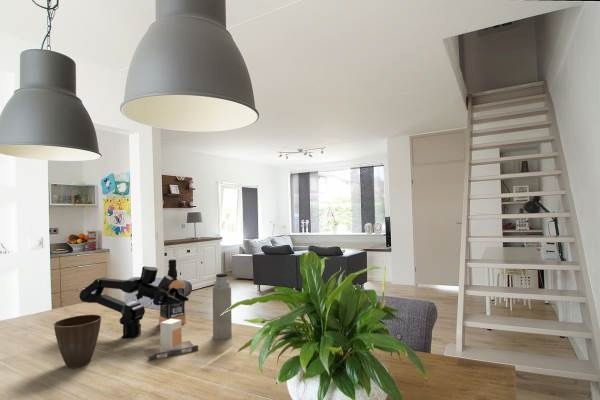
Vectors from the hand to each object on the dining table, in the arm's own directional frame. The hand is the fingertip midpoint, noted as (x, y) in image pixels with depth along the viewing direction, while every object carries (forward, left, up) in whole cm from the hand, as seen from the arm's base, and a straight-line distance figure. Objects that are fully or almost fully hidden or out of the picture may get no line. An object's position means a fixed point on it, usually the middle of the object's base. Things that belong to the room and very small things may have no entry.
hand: (184, 300), depth 159 cm
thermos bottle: (+17, -4, -16) cm, 24 cm away
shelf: (-1, -18, -16) cm, 24 cm away
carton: (-1, -18, -15) cm, 24 cm away
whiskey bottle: (-11, +22, -16) cm, 30 cm away
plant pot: (-33, -24, -16) cm, 44 cm away
